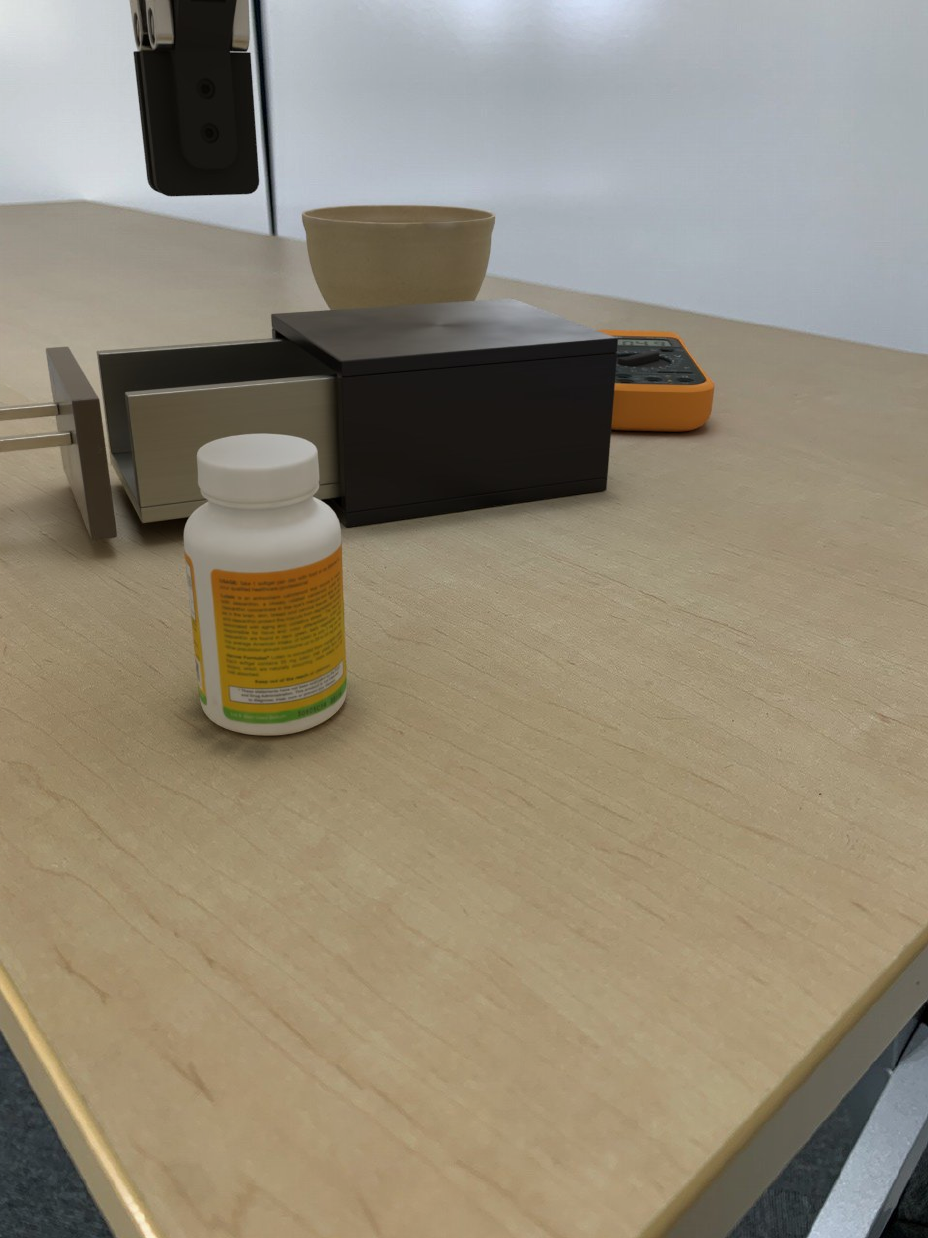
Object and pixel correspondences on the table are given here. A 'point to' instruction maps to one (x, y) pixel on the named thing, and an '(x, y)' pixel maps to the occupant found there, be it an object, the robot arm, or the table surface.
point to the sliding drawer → (177, 419)
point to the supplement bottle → (265, 587)
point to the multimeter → (658, 384)
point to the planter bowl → (397, 253)
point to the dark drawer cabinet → (461, 405)
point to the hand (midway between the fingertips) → (204, 191)
